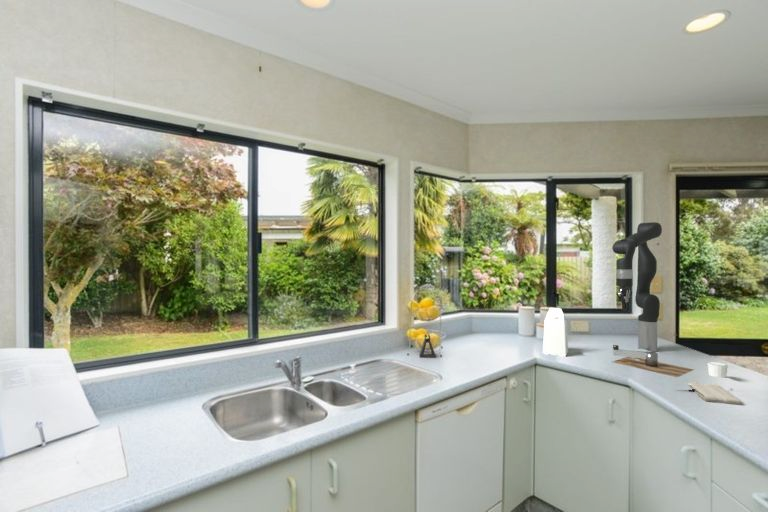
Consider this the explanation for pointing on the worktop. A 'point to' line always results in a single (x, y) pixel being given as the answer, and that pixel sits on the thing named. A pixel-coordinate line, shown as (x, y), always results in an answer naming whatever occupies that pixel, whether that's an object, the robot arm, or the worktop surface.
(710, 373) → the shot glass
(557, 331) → the milk
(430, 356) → the phone stand
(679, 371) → the dial plate
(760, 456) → the worktop surface
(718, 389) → the washcloth
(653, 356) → the lever
